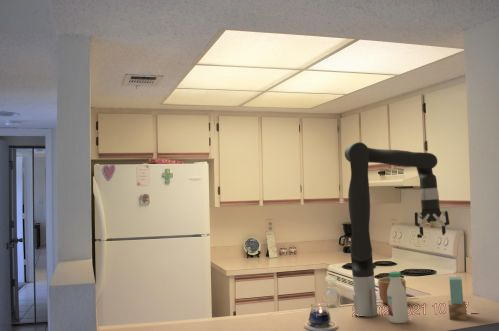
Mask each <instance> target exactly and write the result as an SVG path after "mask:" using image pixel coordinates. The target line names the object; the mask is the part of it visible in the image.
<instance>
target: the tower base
mask: <svg viewBox="0 0 499 331" xmlns="http://www.w3.org/2000/svg"><path fill="white" fill-rule="evenodd" d="M447 303H448V313H449V315H448V316H449V320H452V321H453V320H455V321H468V314H467V310H466V306H467V303H466V300H465V301H464V300H463V304H451V300H448V301H447Z"/></svg>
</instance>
